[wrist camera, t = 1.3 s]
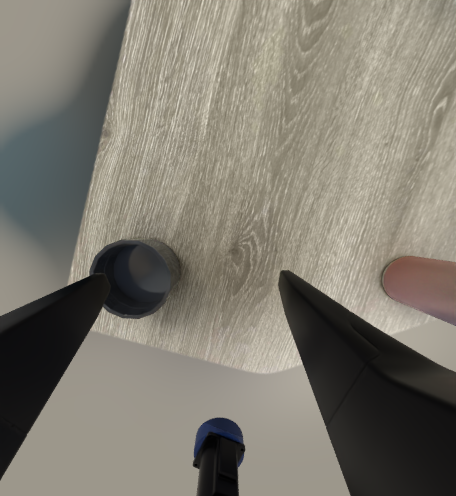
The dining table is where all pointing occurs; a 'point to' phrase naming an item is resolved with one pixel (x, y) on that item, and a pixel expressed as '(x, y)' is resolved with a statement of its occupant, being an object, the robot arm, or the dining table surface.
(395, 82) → the dining table surface
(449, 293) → the beverage can
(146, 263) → the pot
